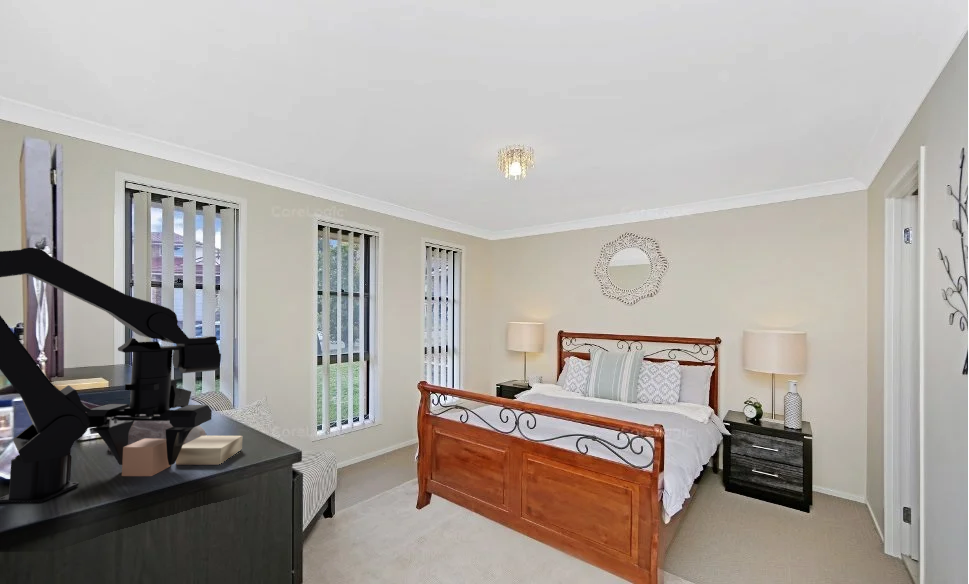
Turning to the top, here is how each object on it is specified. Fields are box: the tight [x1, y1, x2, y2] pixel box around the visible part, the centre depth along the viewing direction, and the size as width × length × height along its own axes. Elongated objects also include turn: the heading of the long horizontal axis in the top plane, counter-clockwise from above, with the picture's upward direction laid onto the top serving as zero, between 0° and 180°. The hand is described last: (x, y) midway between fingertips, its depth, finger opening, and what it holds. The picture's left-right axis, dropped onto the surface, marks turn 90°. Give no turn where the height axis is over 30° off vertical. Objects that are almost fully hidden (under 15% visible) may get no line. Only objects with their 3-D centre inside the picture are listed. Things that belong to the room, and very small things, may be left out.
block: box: [121, 439, 172, 477], centre depth 78 cm, size 5×5×5 cm
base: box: [175, 435, 243, 466], centre depth 85 cm, size 8×8×3 cm
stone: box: [107, 414, 208, 452], centre depth 94 cm, size 17×10×10 cm
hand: (147, 464), depth 78 cm, fingers open, 8 cm apart
